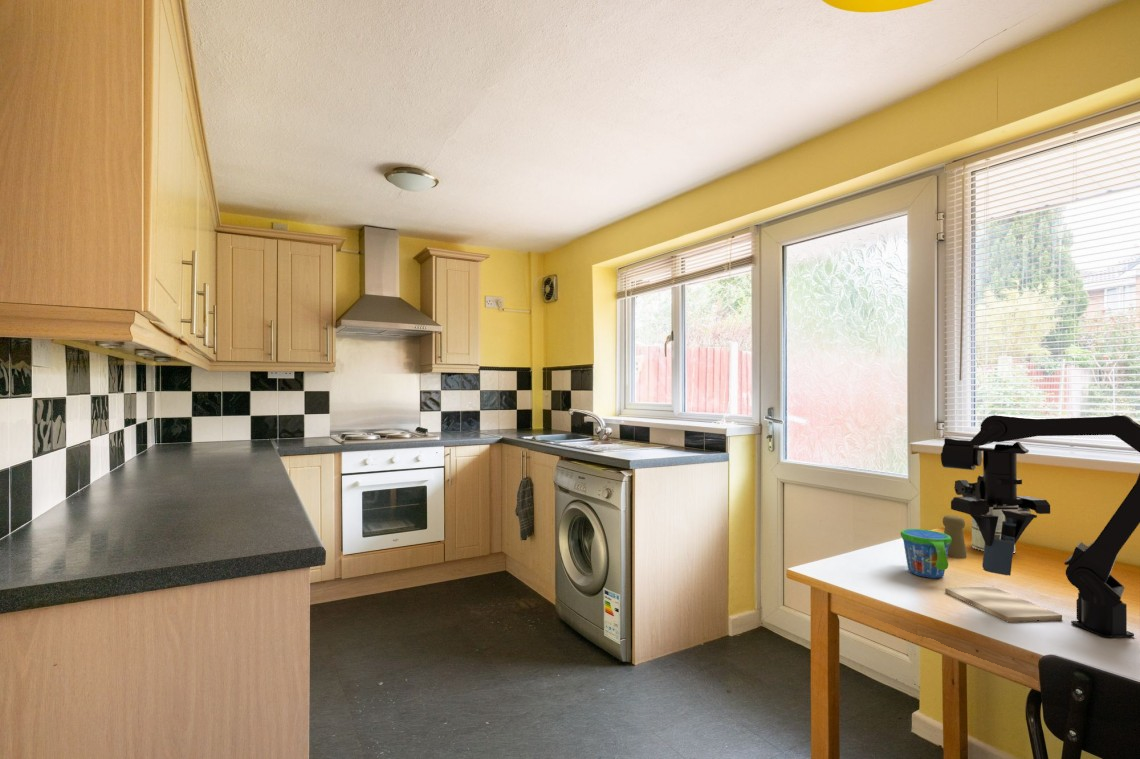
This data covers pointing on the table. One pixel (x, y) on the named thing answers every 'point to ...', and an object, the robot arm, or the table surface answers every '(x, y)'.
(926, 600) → the table surface
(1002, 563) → the vaping device
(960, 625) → the table surface
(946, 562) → the blue plastic tapered tub
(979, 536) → the coffee can
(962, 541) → the cork
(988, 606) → the birch board
